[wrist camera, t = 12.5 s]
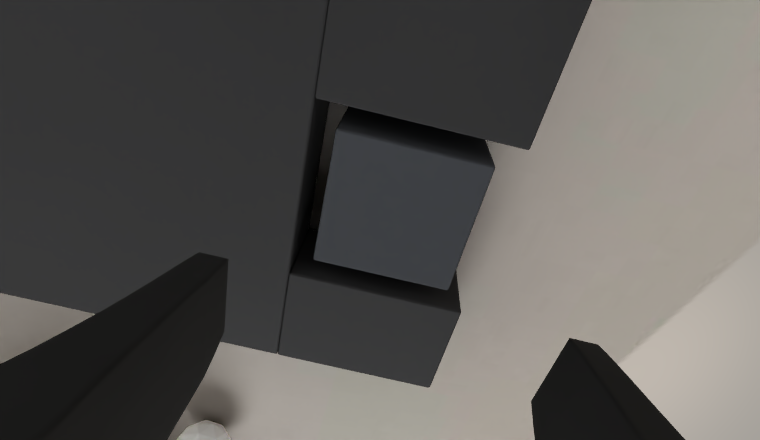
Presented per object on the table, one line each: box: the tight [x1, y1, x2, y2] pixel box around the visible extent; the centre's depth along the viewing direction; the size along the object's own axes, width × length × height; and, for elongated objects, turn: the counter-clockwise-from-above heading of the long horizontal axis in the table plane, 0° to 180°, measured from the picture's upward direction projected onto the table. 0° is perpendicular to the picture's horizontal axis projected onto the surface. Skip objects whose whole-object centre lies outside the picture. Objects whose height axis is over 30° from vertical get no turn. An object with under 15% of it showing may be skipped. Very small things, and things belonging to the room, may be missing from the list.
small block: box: [314, 106, 495, 290], centre depth 15 cm, size 5×5×3 cm
